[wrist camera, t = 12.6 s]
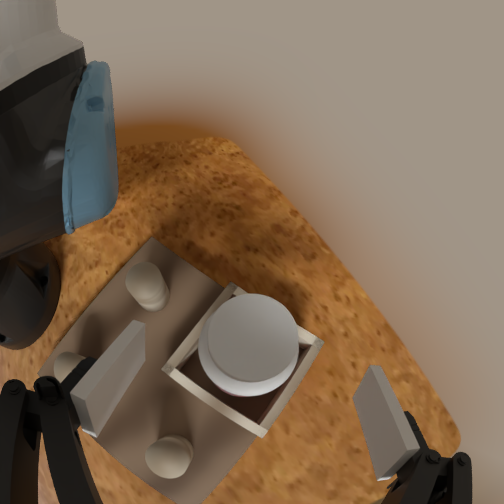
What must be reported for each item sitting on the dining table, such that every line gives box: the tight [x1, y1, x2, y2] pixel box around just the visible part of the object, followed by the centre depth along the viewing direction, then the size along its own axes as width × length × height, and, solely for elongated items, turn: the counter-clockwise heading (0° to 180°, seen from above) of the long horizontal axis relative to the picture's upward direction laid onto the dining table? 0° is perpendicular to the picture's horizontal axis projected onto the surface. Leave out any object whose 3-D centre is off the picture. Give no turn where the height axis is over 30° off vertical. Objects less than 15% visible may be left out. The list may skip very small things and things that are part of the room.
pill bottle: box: [198, 294, 299, 397], centre depth 18 cm, size 6×6×11 cm
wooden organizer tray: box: [37, 237, 324, 504], centre depth 21 cm, size 20×20×7 cm
